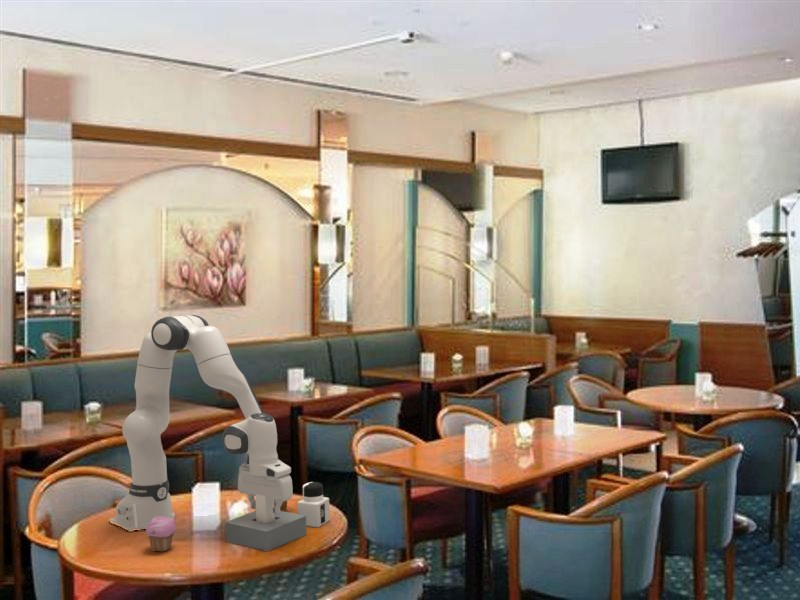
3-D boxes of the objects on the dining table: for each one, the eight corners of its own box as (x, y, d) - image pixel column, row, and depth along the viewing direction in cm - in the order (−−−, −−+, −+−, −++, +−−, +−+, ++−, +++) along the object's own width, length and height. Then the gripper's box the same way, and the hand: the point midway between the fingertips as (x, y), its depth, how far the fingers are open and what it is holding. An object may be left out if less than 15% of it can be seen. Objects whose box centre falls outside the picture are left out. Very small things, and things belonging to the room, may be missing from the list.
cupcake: (155, 544, 277) (153, 512, 276) (181, 545, 276) (180, 512, 275) (142, 554, 268) (140, 521, 268) (169, 555, 267) (168, 522, 266)
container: (330, 520, 296) (328, 481, 295) (318, 527, 289) (317, 487, 288) (309, 518, 299) (308, 479, 298) (297, 525, 292) (296, 485, 291)
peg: (257, 538, 280) (255, 494, 279) (266, 535, 283) (264, 491, 282) (266, 540, 277) (264, 496, 276) (275, 537, 281) (273, 492, 280)
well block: (225, 541, 278) (225, 522, 278) (265, 525, 292) (264, 507, 292) (267, 551, 268) (266, 531, 267) (306, 534, 282) (305, 515, 282)
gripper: (232, 464, 282) (234, 508, 283) (280, 473, 270) (282, 518, 271) (246, 460, 287) (248, 503, 288) (295, 468, 275) (296, 513, 276)
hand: (265, 510), depth 279 cm, fingers open, 8 cm apart
